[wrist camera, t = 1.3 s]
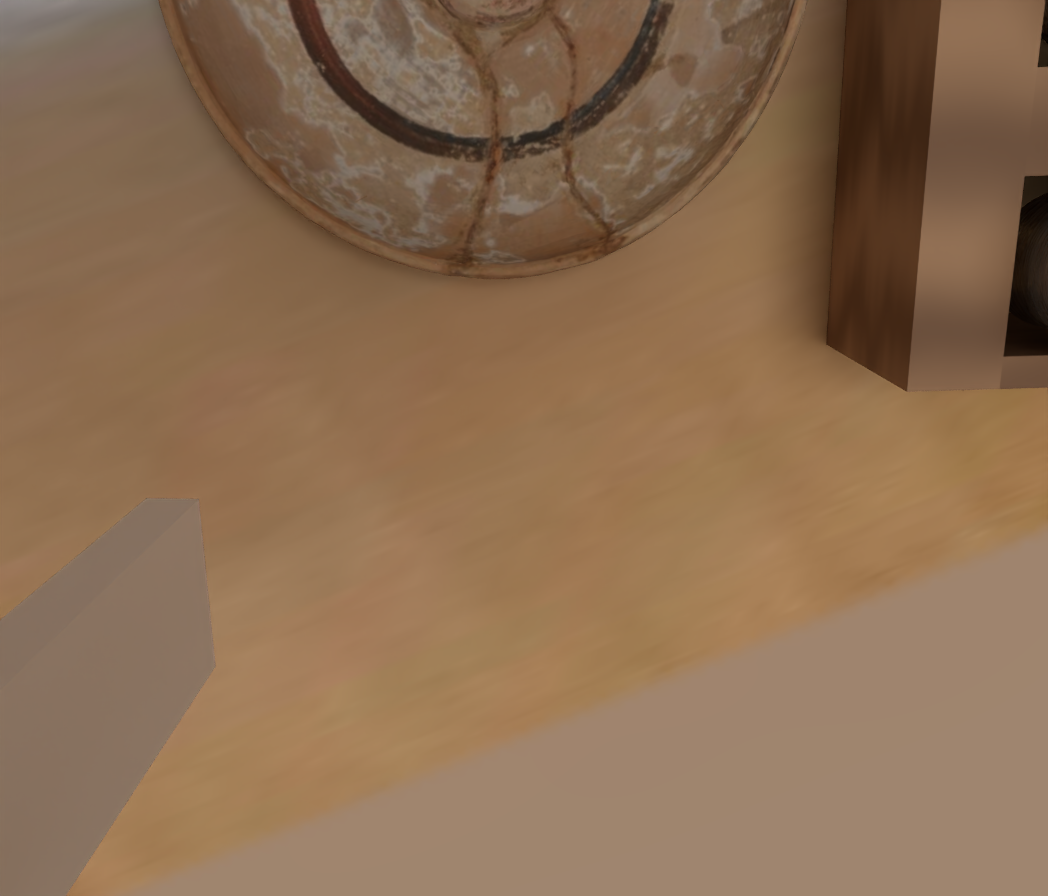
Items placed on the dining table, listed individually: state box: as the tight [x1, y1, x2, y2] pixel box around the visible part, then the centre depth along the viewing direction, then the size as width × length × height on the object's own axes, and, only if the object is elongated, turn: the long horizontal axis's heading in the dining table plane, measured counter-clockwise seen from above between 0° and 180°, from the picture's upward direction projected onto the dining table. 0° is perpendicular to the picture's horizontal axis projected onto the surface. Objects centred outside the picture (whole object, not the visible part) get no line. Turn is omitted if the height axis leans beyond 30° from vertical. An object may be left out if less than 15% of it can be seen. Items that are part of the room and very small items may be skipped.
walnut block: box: [827, 0, 1048, 392], centre depth 33 cm, size 17×12×9 cm
